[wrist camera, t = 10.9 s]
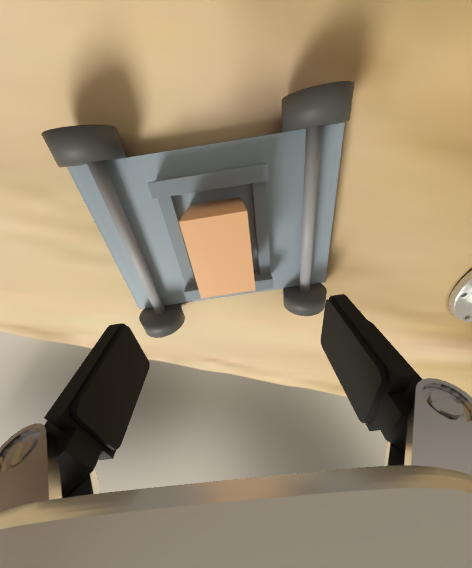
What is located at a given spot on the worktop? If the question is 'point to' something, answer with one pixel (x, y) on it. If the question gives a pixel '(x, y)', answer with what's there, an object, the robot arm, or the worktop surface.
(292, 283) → the chassis
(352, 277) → the worktop surface
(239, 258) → the block
